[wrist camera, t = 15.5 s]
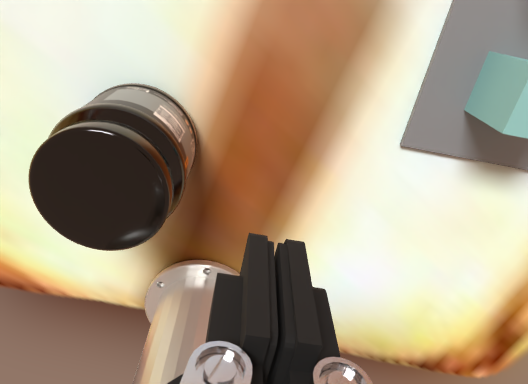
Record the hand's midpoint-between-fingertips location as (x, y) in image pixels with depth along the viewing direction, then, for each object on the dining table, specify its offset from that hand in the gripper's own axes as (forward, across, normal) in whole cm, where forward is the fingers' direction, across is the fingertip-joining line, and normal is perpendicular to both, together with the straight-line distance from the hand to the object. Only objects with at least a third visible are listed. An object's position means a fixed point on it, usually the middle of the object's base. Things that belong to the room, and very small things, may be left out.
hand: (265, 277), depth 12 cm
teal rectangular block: (+27, -21, -4) cm, 34 cm away
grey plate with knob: (+27, -21, -4) cm, 35 cm away
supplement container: (+27, +10, +7) cm, 30 cm away
